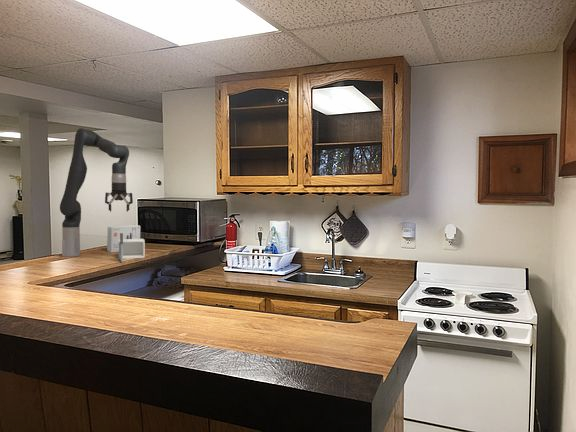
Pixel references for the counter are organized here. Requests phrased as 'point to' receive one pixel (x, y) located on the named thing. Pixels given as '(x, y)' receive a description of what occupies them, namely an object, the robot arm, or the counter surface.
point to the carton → (133, 248)
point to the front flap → (121, 247)
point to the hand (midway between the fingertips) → (118, 211)
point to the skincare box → (114, 235)
